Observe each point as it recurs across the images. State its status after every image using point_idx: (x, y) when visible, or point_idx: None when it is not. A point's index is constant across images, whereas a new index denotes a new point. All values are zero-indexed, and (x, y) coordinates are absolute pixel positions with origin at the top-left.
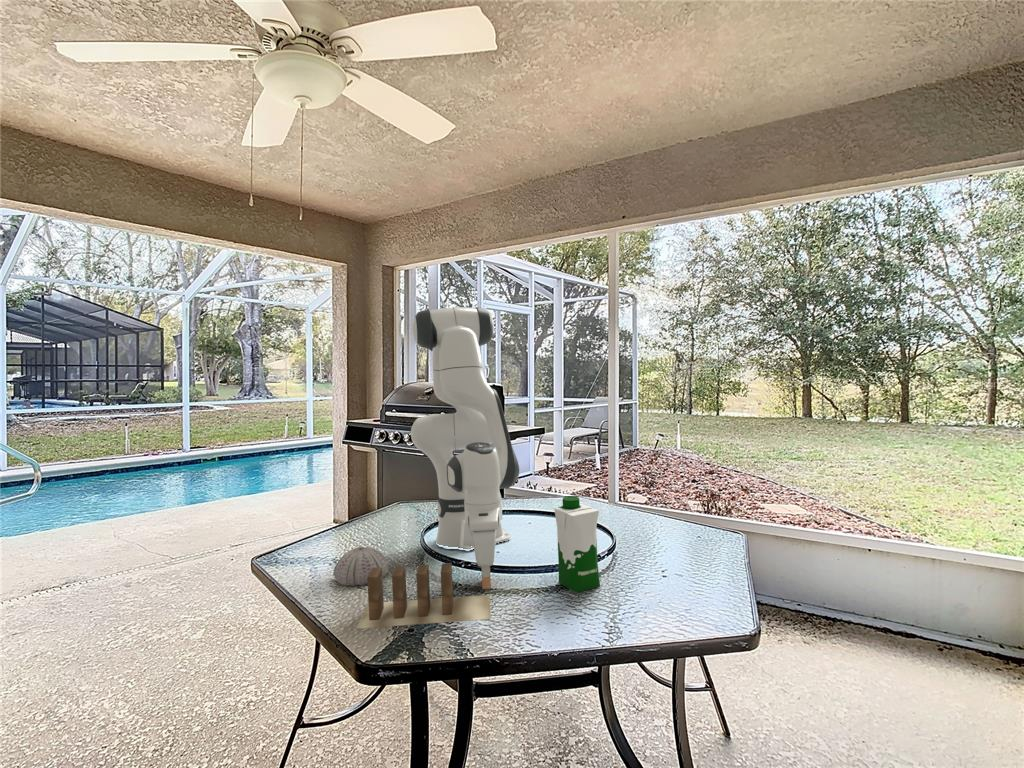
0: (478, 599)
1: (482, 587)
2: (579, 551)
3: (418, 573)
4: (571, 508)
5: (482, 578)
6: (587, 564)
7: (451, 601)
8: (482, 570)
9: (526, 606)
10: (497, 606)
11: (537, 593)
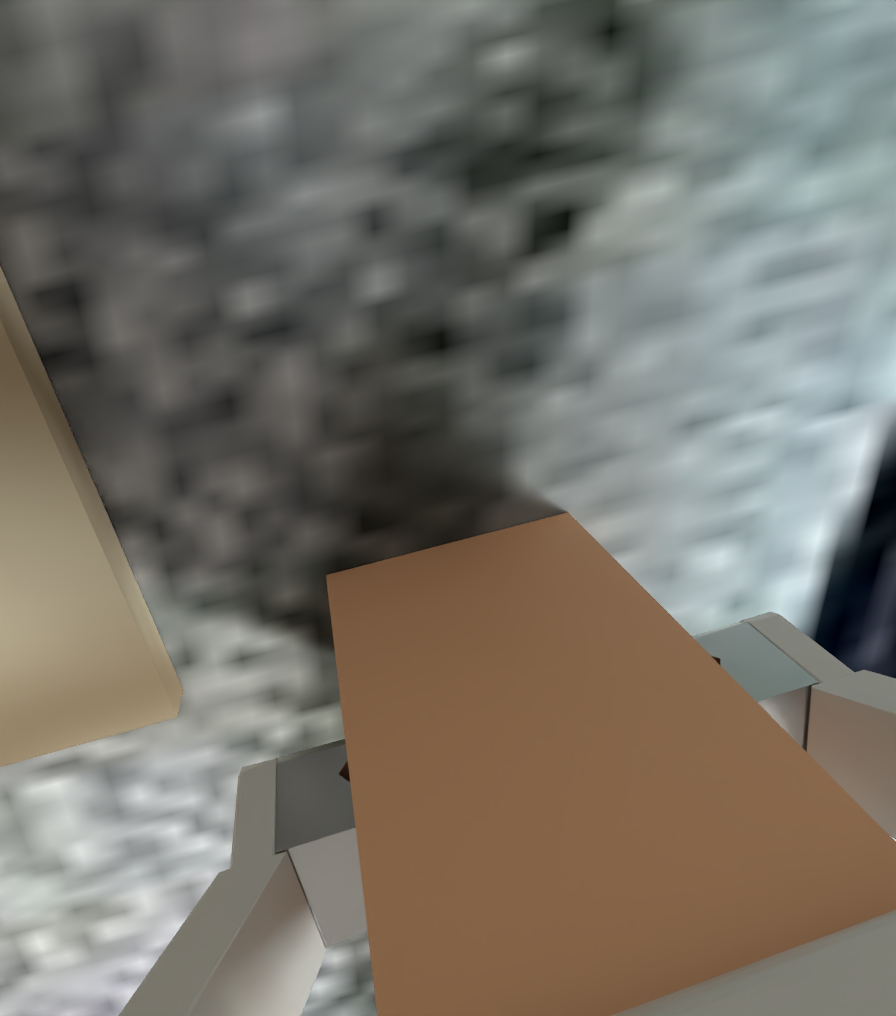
0: (5, 635)
1: (332, 607)
2: None
3: None
4: None
5: (339, 687)
6: None
7: None
8: (232, 862)
9: (80, 1004)
10: (3, 806)
11: (354, 994)
